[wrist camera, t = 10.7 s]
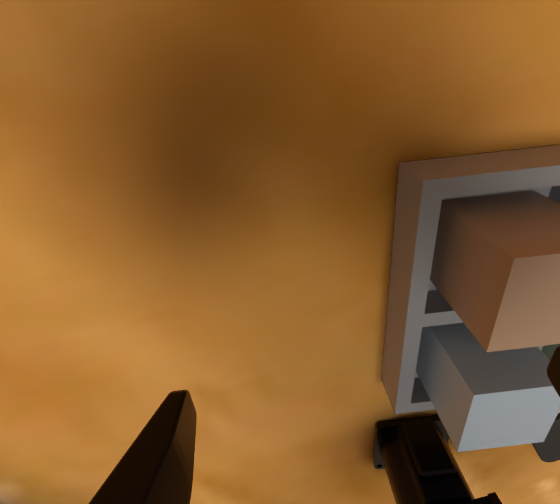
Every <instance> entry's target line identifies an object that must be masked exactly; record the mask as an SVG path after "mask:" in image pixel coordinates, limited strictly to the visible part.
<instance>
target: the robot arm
mask: <svg viewBox="0 0 560 504" xmlns="http://www.w3.org/2000/svg"><path fill="white" fill-rule="evenodd" d="M547 376H548V378H549V380H550V382H551V384H552V385H553V387H554V389H555V390H556V392H557V394H558V395H559V397H560V346H558V347H557V348H556V349H555V350H554V353H553V355H552V357H551V360H550V362H549V364H548V366H547ZM195 435H196V410H195V407H194V404H193V402H192V399H191V396H190V393H189V391H188V390H178V391H172V392H171V393H169V394H168V396H167V397H166V398H165V400H164V401H163V402H162V404H161V405H160V407H159V408H158V409H157V411H156V412H155V413H154V415H153V416H152V418H151V419H150V420H149V422H148V423H147V424H146V426H145V427H144V428H143V430H142V431H141V433H140V434H139V435H138V437H137V438H136V439H135V441H134V442H133V444H132V445H131V446H130V448H129V449H128V450H127V452H126V453H125V455H124V456H123V457H122V459H121V460H120V461H119V463H118V464H117V465H116V467H115V468H114V470H113V471H112V472H111V474H110V475H109V476H108V478H107V479H106V481H105V482H104V483H103V485H102V486H101V487H100V489H99V490H98V492H97V493H96V494H95V496H94V497H93V498H92V500H91V501H90V502H89V504H190V498H191V491H192V481H193V467H194V451H195ZM448 439H449V435H448V433H447V431H446V429H445V427H444V425H443V423H442V421H441V419H440V417H439V416H432V417H424V418H416V419H407V420H399V421H390V422H382V423H378V424H377V425H376V427H375V440H374V452H373V465H374V468H376V469H382V468H385V469H386V473H387V476H388V479H389V482H390V485H391V488H392V492H393V495H394V498H395V501H396V504H502V503H501V501H500V499H499V498H498V496H497V495H496V493H495V492H493V493H490V494H488V496H485V497H481V498H477V499H474V497H473V495H472V492H471V490H470V488H469V486H468V484H467V482H466V480H465V478H464V476H463V474H462V472H461V470H460V468H459V466H458V464H457V462H456V460H455V458H454V456H453V454H452V452H451V450H450V448H449V446H448V444H447V443H448Z"/></svg>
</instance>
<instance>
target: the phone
mask: <svg viewBox="0 0 560 504" xmlns="http://www.w3.org/2000/svg"><path fill="white" fill-rule="evenodd" d="M532 444H533V446H534V447H535V449H536V451H537V453H538V455H539V456H540V458H541V459H542V460H543V461H544V462H554V461H557V460H560V413H559V414H557V416H556V418H555V420H554V422H553V424H552V426H551V428H550V430H549V432H548V434H547V436H546V438H545V440H544V442H538V443H532Z"/></svg>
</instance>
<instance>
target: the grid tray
mask: <svg viewBox="0 0 560 504" xmlns="http://www.w3.org/2000/svg"><path fill="white" fill-rule="evenodd" d="M558 346H560V145H552V146H544V147H535V148H526V149H517V150H508V151H499V152H490V153H481V154H472V155H463V156H454V157H445V158H436V159H427V160H418V161H409V162H400V163H399V170H398V182H397V194H396V207H395V219H394V231H393V243H392V255H391V268H390V280H389V292H388V304H387V316H386V329H385V341H384V353H383V365H382V377H381V380H382V382H383V385H384V387H385V390H386V393H387V395H388V398H389V400H390V403H391V405H392V408H393V410H394V413H395V414H402V413H411V412H419V411H428V410H436V412H437V413H438V415H439V417H440V419H441V421H442V423H443V425H444V427H445V429H446V431H447V433H448V435H449V437H450V439H451V441H452V443H453V445H454V447H455V449H456V451H457V452H463V451H471V450H479V449H488V448H496V447H505V446H513V445H521V444H530V443H538V442H544V440H545V438H546V436H547V434H548V432H549V430H550V428H551V426H552V424H553V422H554V420H555V418H556V416H557V414H558V412H559V410H560V397H559V395H558V394H557V392H556V390H555V389H554V387H553V385H552V384H551V382H550V380H549V378H548V376H547V366H548V364H549V362H550V360H551V357H552V355H553V353H554V350H555V349H556V348H557V347H558Z"/></svg>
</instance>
